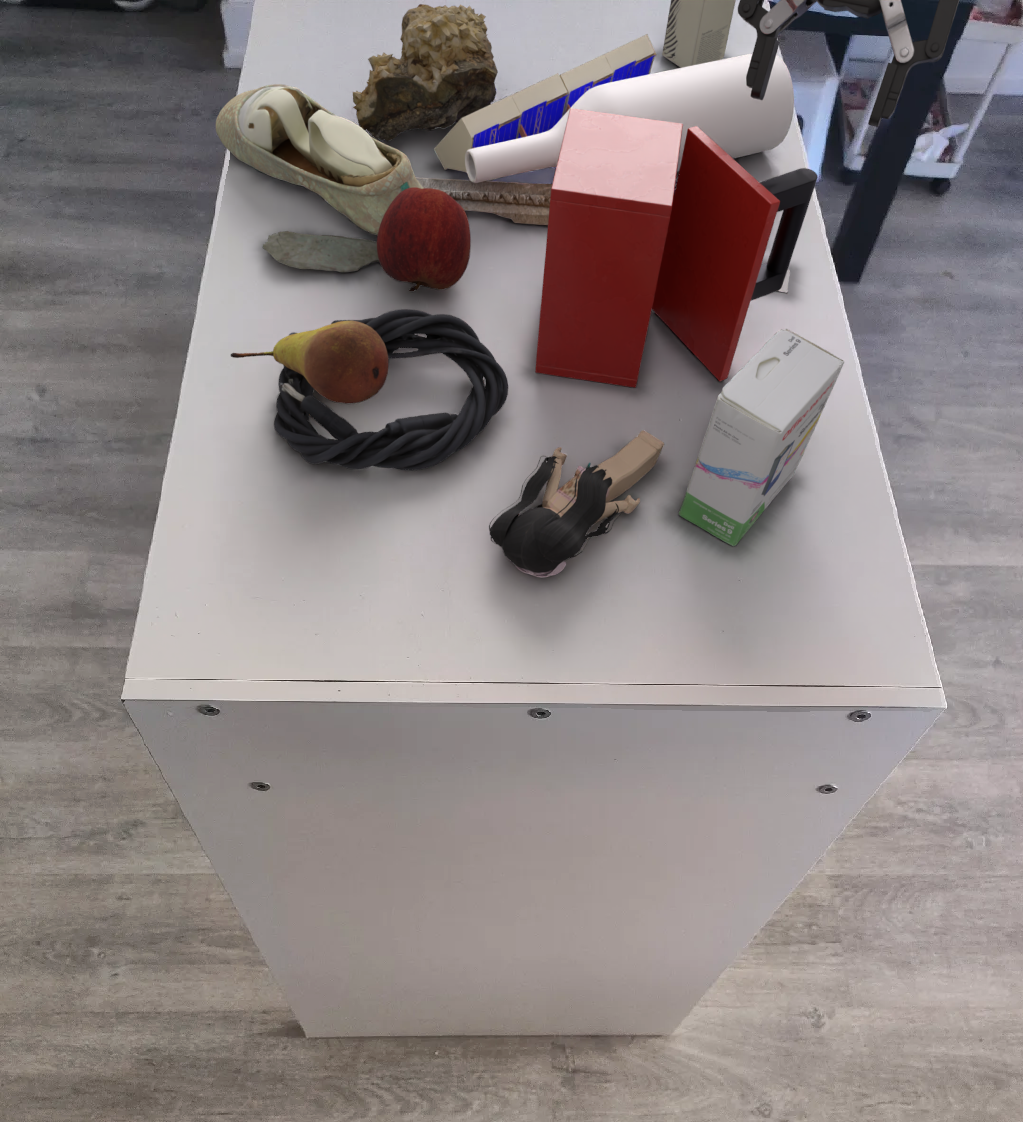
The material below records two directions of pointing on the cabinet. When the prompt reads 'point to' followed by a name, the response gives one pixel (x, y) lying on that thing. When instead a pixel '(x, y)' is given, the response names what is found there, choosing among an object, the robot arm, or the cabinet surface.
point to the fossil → (498, 198)
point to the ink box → (758, 434)
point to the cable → (404, 438)
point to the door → (724, 247)
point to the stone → (321, 251)
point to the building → (542, 102)
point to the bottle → (664, 114)
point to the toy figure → (571, 507)
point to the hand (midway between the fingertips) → (814, 111)
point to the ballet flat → (315, 151)
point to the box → (697, 31)
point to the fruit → (335, 360)
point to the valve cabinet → (605, 244)
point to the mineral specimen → (429, 74)
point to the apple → (424, 239)
